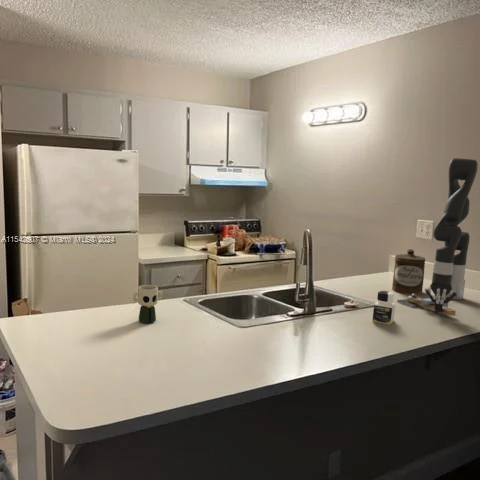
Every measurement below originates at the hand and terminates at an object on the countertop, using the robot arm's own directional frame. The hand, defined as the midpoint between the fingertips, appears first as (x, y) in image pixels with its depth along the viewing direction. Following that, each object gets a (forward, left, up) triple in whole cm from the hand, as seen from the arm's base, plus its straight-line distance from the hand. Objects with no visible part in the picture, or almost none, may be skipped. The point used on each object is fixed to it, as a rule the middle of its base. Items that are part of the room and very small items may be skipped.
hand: (437, 312), depth 199 cm
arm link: (-4, -8, 0) cm, 9 cm away
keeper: (-5, -7, -2) cm, 9 cm away
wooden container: (-19, -40, -2) cm, 45 cm away
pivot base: (-3, -18, -2) cm, 19 cm away
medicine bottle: (+29, 0, -2) cm, 29 cm away
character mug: (+120, -20, -2) cm, 121 cm away
